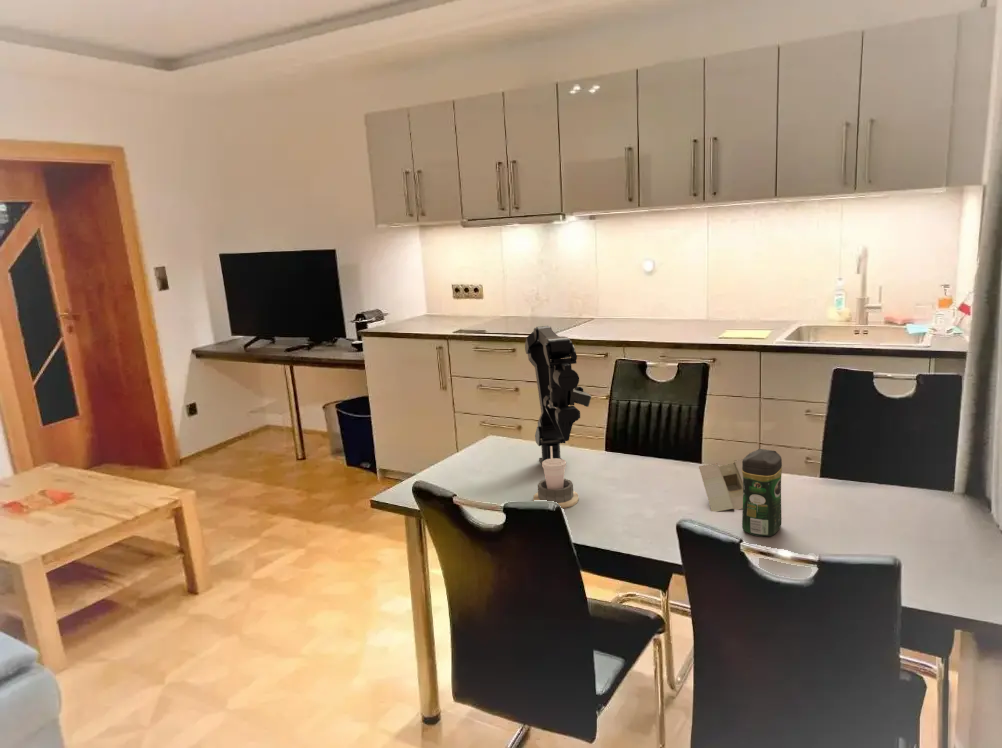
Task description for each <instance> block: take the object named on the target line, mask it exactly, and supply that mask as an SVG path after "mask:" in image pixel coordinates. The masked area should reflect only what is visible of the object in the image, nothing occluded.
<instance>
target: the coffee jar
mask: <svg viewBox="0 0 1002 748" xmlns="http://www.w3.org/2000/svg"><path fill="white" fill-rule="evenodd" d="M742 459H743V461H742V474H743V509H742V515H741V516H742V517H741V518H742V519H741V522H742V523H741V524H742V525H741V527H742V530H743V532H746V533H748V534H749V535H752V536H756V537H772V536H774V535H776V533H778V532H779V530H780V528H781V527H782V473H783V472H782V471H783V470H782V469H783V463H782V462H783V461H782V456H781V455H780V454H779V453H778V452H777V451H776V450H774V449H773V450H772V449H771V450H770V449H764V448H758V449H756V450H754V451H752V452H749V453H748V454H747V455H746V456H745V457H744V458H742Z"/></svg>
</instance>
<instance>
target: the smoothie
mask: <svg viewBox="0 0 1002 748" xmlns="http://www.w3.org/2000/svg"><path fill="white" fill-rule="evenodd" d="M550 454H551V459H546V460H544V461H543V462H542V463H541V464H542V465H541V466H542V468H543V473H544V478H545V479H546V485H547V489H553V490H556V489H563V484H564V479H565V469H566V467H567V462H566V460H565V459H563V458H561V459H559V458H553V451H552V446H550ZM545 479H544V480H545Z"/></svg>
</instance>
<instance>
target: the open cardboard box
mask: <svg viewBox="0 0 1002 748" xmlns="http://www.w3.org/2000/svg"><path fill="white" fill-rule="evenodd" d="M743 459H744V458H740V459H735V460H733V463H729V464H724V465H718V463H711V464H706V465H705V464H703V465H699V466H698V469H699V473H700V476H701V480H702V483H703V487H704V490H705V493H706V497H707V500H708V504H709V507H710V511H711V512H715V513H716V512H723V511H728V510H735V511H737V510H743V474H742V461H743Z"/></svg>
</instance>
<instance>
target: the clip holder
mask: <svg viewBox="0 0 1002 748" xmlns="http://www.w3.org/2000/svg"><path fill="white" fill-rule="evenodd" d="M579 497H580V496H579V494H578V493H577V492H576V491H575V490H574V483H573V481H572V480H570V479H567V478H564V484H563V489H556V490H553V489H547V485H546V479H543V480H540V481H539V482H538V483H537V492H536V493H534V495H533V498H532V499H533V501H534V500H547V501H554V502H557V503H558V504H559V505H560V506H561V508H562V509H566V508H570V507H574V506H575V505H577V503H578V502H579V499H580V498H579Z"/></svg>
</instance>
